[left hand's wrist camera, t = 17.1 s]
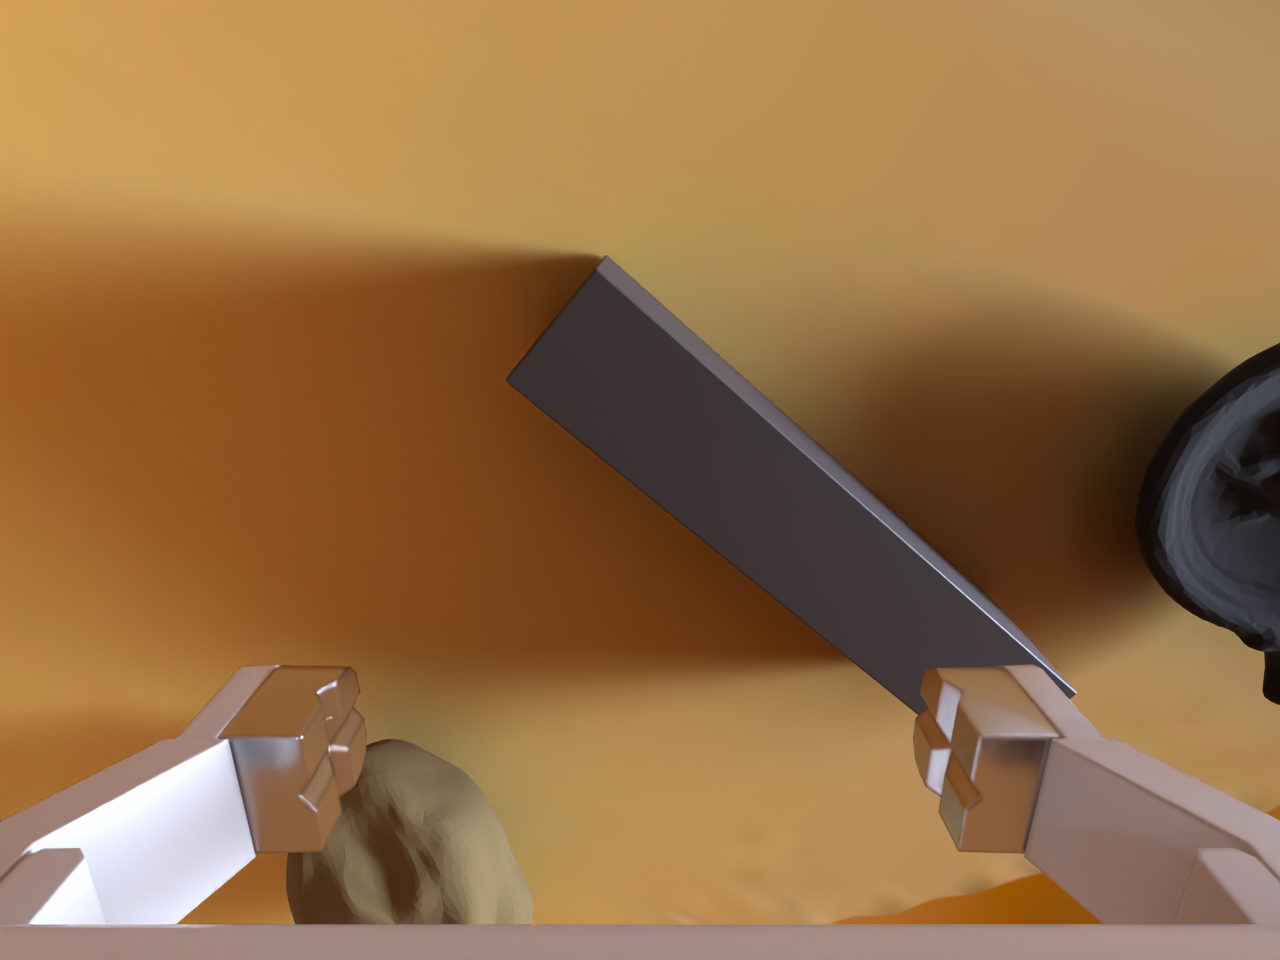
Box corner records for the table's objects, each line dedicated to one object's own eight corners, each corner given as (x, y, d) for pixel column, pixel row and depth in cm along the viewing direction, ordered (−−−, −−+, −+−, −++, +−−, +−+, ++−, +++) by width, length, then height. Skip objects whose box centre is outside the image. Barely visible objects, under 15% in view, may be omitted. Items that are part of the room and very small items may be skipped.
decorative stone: (285, 722, 41) (180, 873, 32) (468, 667, 40) (415, 807, 30) (413, 929, 47) (356, 1110, 37) (577, 887, 45) (561, 1063, 36)
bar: (534, 342, 34) (503, 380, 26) (606, 254, 33) (596, 267, 25) (916, 660, 40) (983, 768, 32) (989, 596, 39) (1078, 693, 31)
